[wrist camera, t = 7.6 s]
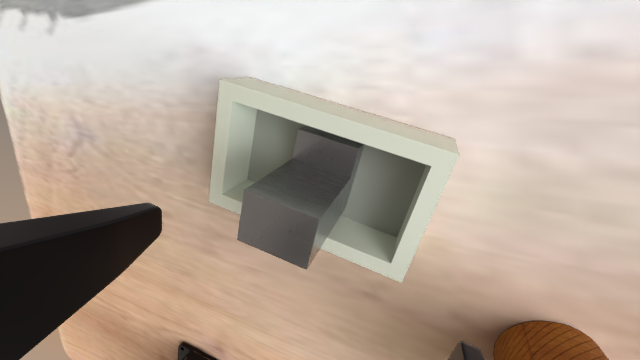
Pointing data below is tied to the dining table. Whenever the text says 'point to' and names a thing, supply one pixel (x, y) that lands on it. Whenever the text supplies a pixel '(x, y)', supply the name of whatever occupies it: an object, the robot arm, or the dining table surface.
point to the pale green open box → (370, 180)
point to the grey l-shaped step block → (301, 197)
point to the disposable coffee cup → (546, 343)
